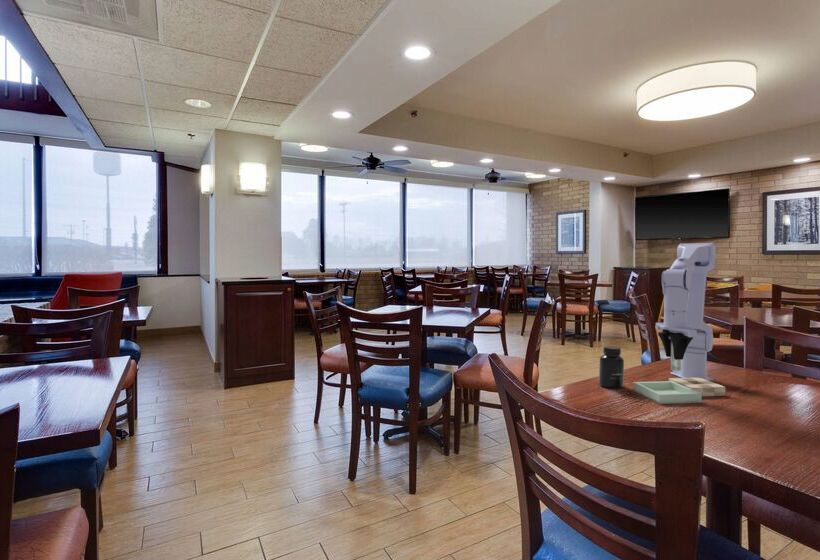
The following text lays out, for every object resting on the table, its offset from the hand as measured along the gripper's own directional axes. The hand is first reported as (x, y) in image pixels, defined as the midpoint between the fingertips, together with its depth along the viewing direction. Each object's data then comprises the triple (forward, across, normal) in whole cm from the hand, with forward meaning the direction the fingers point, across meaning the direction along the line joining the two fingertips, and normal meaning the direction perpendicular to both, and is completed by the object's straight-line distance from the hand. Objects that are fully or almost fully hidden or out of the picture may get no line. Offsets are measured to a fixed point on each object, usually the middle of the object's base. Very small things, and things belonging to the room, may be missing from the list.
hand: (674, 358), depth 124 cm
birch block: (+10, -2, +9) cm, 14 cm away
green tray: (+11, +2, -3) cm, 11 cm away
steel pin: (+3, 0, +1) cm, 3 cm away
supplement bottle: (+11, -10, -13) cm, 20 cm away
